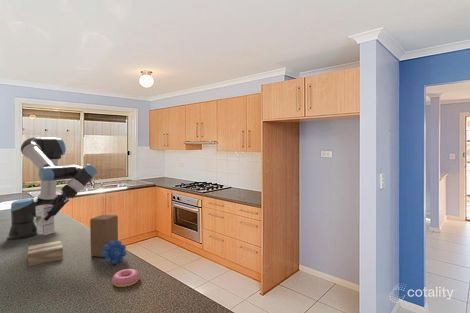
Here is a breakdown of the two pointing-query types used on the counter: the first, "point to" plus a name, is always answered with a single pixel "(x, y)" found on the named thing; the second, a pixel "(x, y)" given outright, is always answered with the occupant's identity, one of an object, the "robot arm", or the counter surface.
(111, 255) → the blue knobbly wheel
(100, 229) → the wooden block
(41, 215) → the syrup box
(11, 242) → the counter surface
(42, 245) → the birch block
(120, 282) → the doughnut
